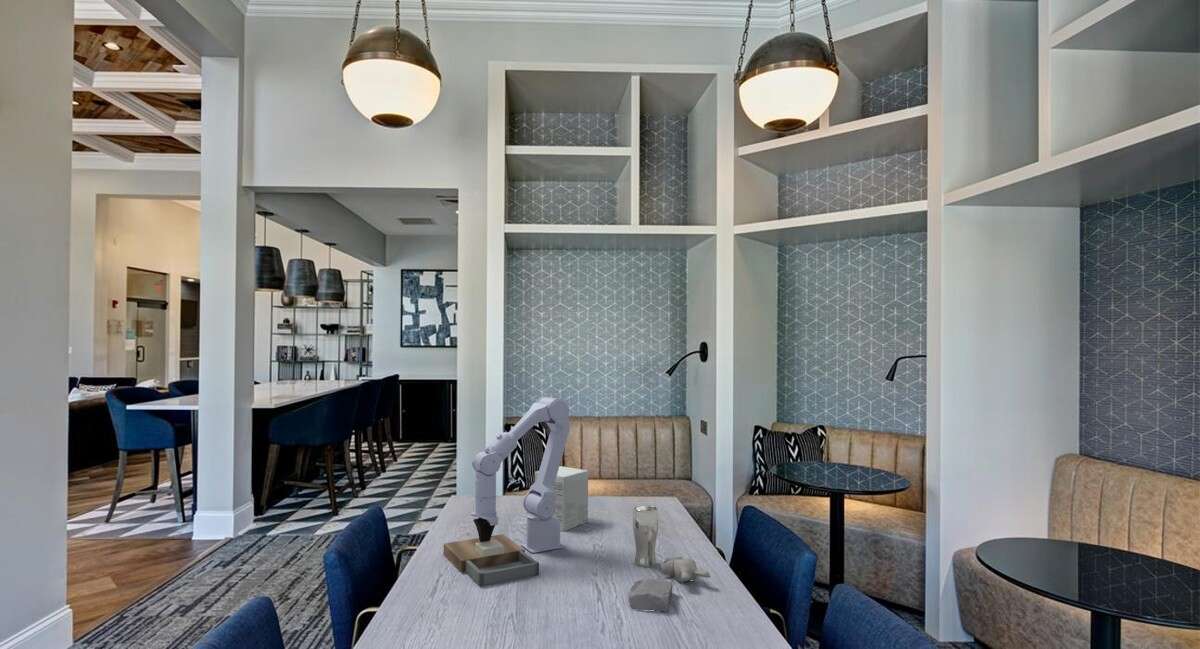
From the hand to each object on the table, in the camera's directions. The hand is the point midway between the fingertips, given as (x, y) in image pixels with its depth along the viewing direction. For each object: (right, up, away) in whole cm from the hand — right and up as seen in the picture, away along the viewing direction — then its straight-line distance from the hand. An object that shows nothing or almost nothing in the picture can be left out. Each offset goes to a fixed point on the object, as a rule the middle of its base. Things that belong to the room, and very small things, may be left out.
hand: (484, 545), depth 171 cm
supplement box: (+19, -5, +34) cm, 40 cm away
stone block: (+44, -4, -27) cm, 52 cm away
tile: (+2, -1, -4) cm, 4 cm away
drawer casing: (0, -4, +1) cm, 4 cm away
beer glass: (+45, -4, -3) cm, 45 cm away
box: (+7, -3, -11) cm, 14 cm away
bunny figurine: (+54, -4, -14) cm, 55 cm away
